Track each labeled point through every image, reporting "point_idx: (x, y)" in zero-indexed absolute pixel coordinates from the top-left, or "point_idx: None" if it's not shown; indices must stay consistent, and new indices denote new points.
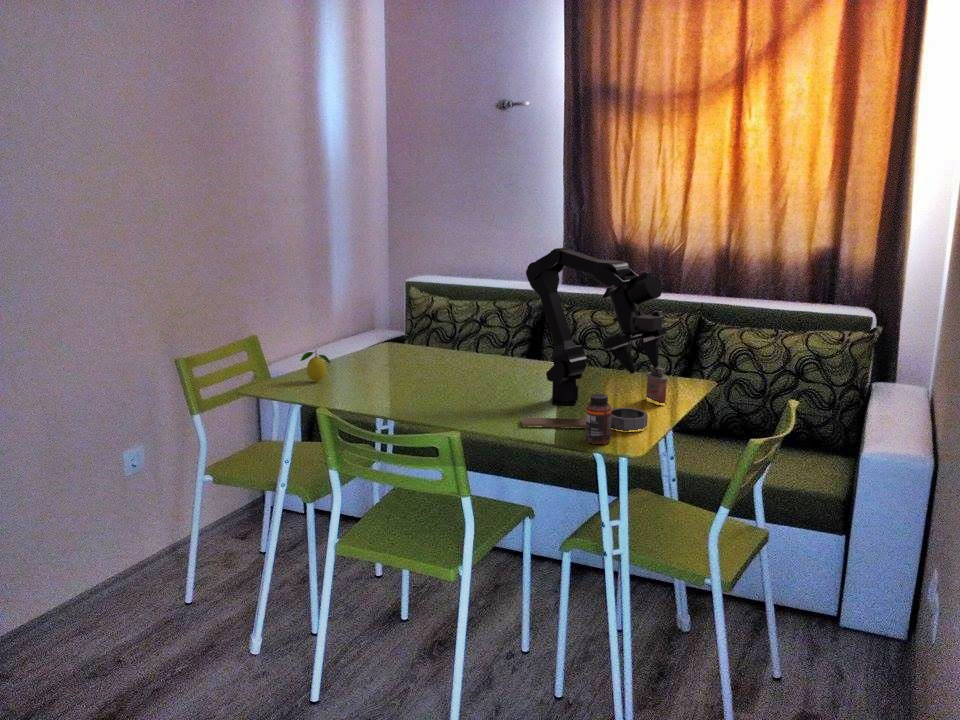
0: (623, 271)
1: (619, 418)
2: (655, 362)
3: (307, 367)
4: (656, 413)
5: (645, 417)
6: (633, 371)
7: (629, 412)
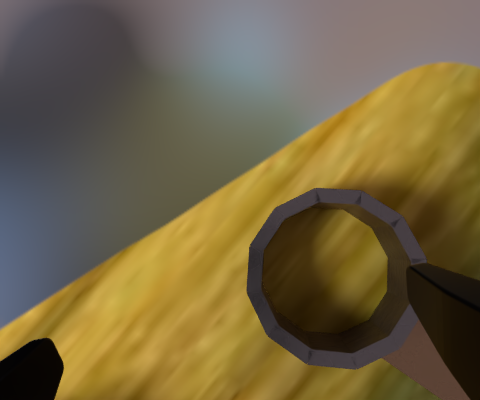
0: None
1: (413, 236)
2: (21, 378)
3: None
4: (110, 347)
5: (295, 198)
6: (434, 268)
7: (279, 323)
